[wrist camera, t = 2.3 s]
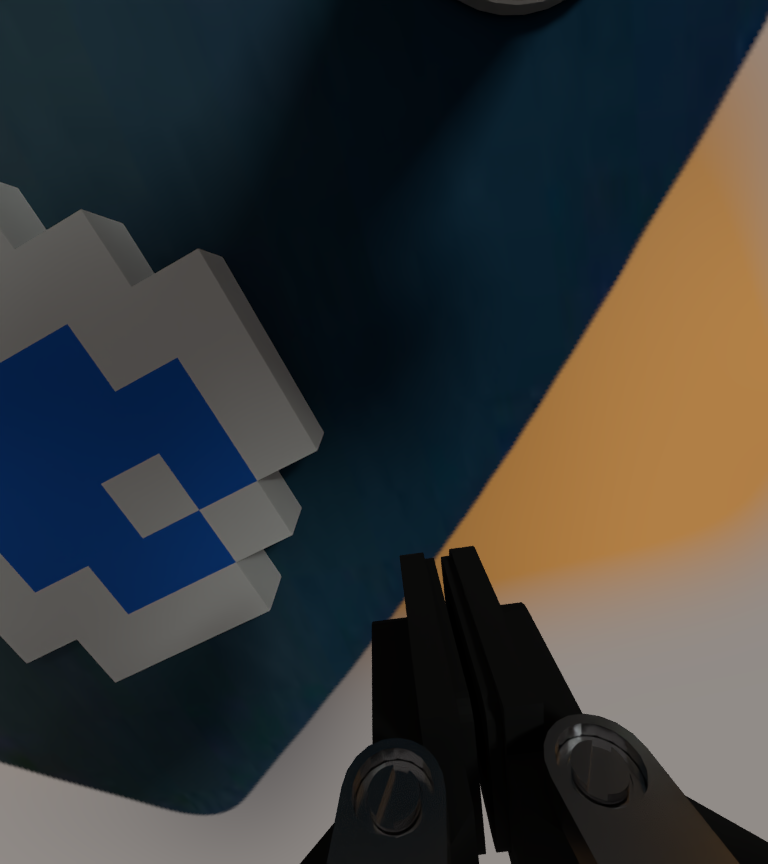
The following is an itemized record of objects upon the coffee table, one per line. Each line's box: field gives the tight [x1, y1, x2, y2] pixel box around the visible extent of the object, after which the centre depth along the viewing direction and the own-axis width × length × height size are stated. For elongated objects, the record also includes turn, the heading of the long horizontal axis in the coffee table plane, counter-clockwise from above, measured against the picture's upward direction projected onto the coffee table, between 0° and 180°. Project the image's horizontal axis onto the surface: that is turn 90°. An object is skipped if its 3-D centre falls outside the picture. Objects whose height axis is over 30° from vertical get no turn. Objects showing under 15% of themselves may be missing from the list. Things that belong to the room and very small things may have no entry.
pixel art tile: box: [0, 182, 324, 683], centre depth 26 cm, size 28×4×28 cm
